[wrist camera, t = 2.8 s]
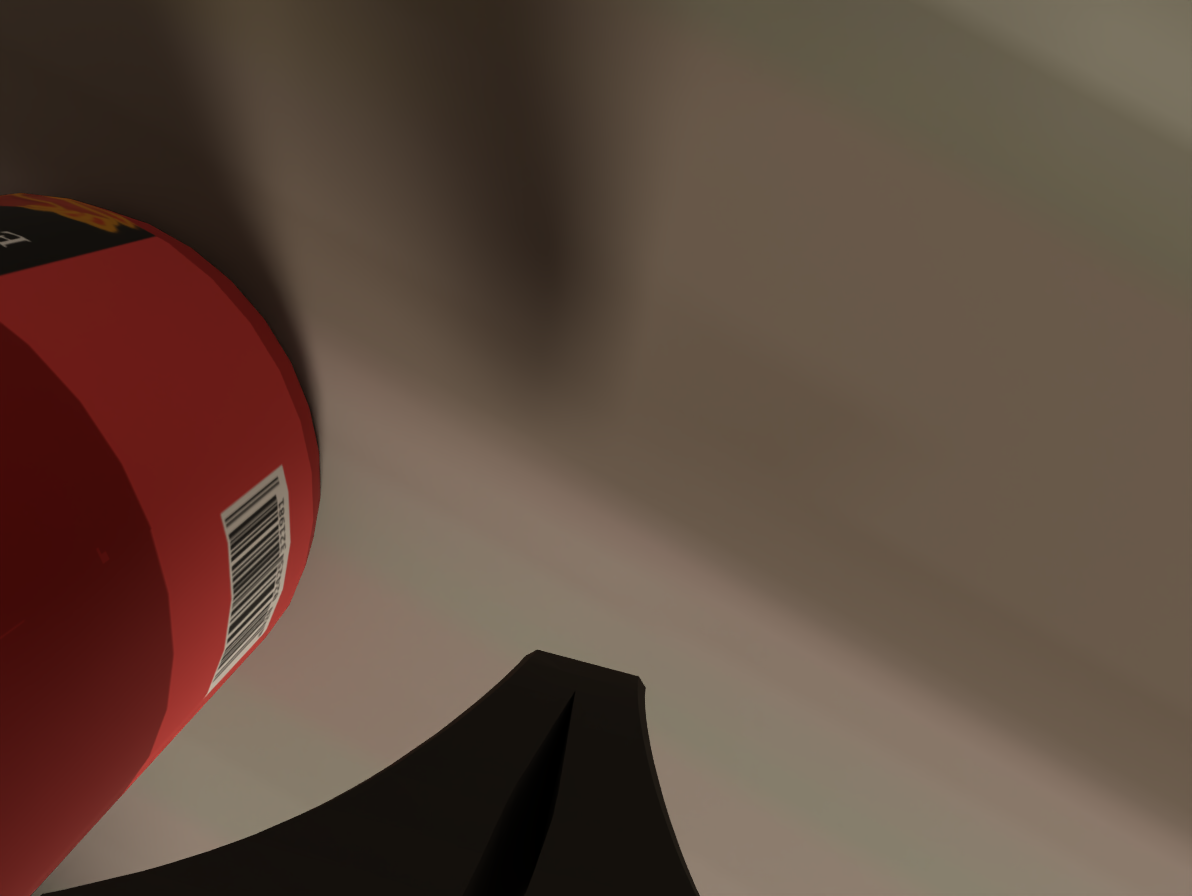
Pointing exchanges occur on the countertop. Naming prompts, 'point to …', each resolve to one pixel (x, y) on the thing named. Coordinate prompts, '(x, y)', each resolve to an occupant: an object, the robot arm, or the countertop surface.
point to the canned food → (129, 508)
